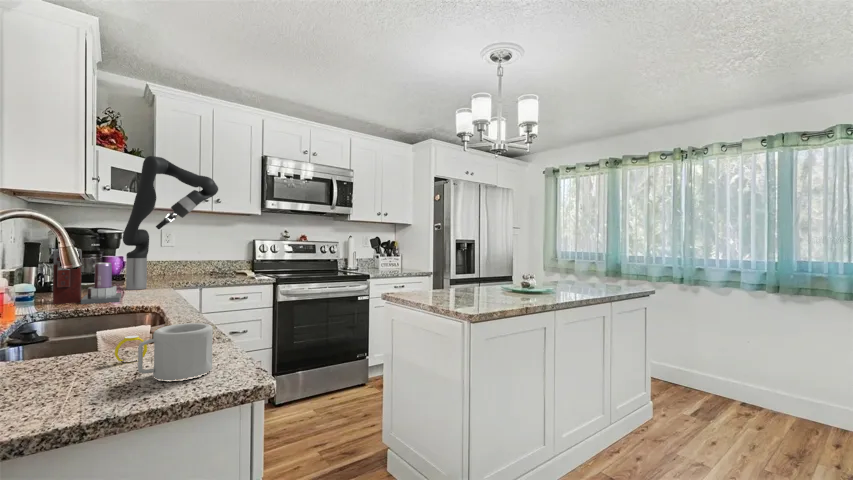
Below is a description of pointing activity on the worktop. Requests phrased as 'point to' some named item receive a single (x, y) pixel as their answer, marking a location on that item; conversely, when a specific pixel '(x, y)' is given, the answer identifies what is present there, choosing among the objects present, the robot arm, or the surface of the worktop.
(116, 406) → the worktop surface
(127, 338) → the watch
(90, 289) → the transparent rectangular container
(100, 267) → the beverage can
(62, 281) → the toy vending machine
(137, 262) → the robot arm
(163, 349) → the mug
